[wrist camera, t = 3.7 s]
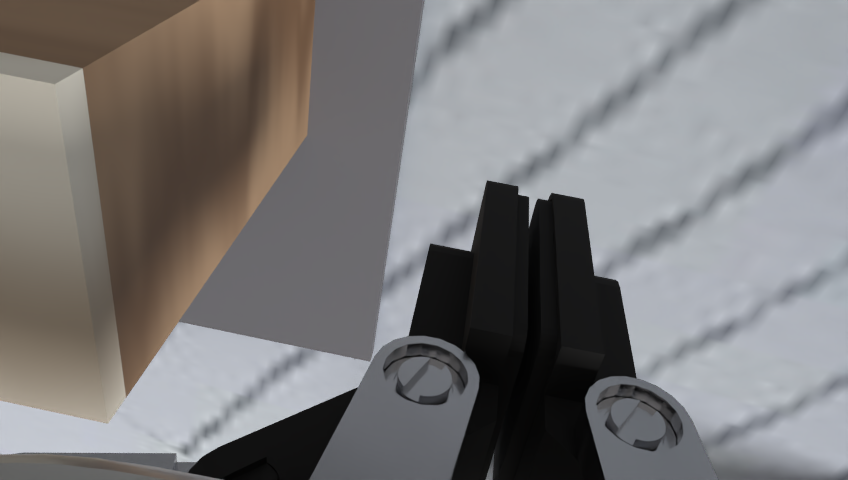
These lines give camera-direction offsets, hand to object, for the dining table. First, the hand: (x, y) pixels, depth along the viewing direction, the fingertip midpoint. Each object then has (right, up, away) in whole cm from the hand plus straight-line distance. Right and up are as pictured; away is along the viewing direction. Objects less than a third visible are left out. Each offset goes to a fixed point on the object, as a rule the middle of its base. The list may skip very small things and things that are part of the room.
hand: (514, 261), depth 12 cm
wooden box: (-8, +7, +8) cm, 13 cm away
